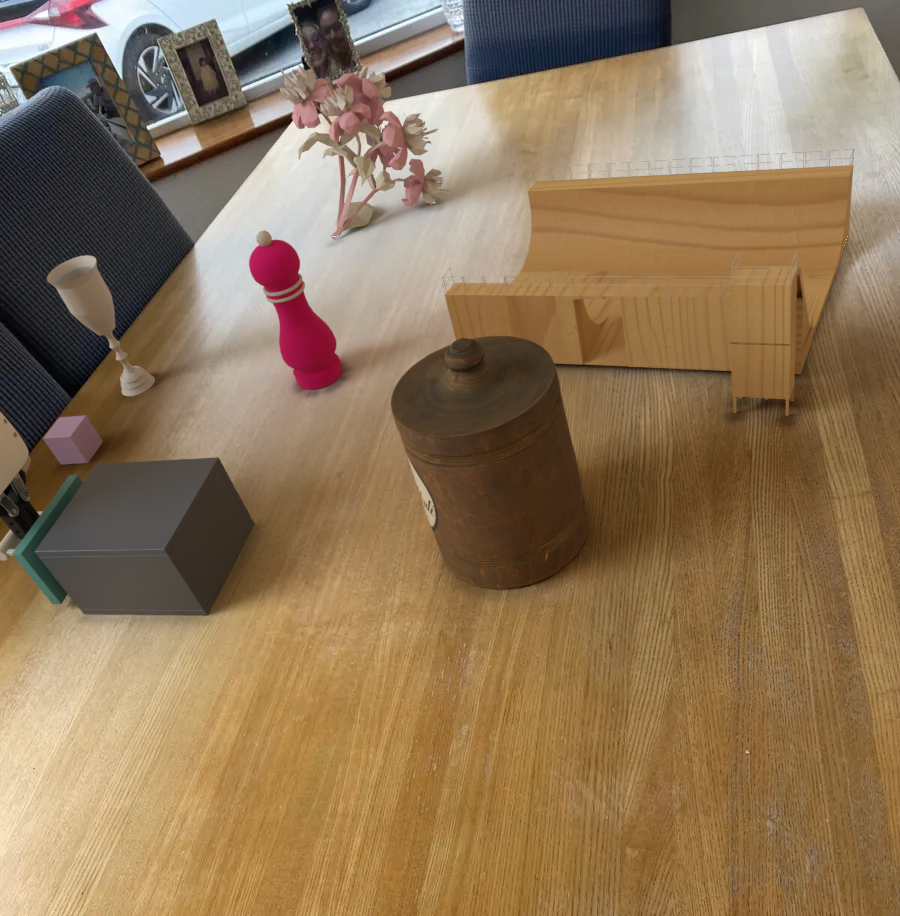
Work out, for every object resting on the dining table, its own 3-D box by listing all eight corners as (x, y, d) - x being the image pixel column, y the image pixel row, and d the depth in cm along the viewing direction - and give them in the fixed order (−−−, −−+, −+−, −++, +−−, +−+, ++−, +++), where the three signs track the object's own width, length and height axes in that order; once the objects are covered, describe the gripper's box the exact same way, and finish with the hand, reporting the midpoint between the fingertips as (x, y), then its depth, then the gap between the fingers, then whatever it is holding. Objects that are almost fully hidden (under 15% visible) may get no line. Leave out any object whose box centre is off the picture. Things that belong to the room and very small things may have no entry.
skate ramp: (849, 244, 115) (858, 105, 104) (789, 416, 95) (792, 267, 84) (546, 249, 133) (526, 131, 122) (440, 394, 113) (405, 269, 101)
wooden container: (471, 481, 100) (415, 297, 85) (606, 489, 94) (572, 292, 79) (419, 582, 92) (346, 397, 76) (564, 599, 86) (517, 401, 70)
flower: (389, 257, 138) (398, 62, 126) (272, 237, 148) (270, 54, 136) (460, 248, 153) (474, 73, 142) (350, 230, 163) (354, 66, 152)
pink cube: (60, 464, 124) (42, 438, 121) (76, 443, 127) (59, 417, 124) (87, 463, 123) (70, 436, 120) (103, 441, 125) (86, 415, 122)
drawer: (7, 604, 105) (-36, 554, 99) (61, 526, 112) (24, 477, 107) (164, 605, 98) (128, 552, 92) (210, 522, 106) (179, 469, 100)
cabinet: (83, 614, 101) (34, 551, 95) (138, 526, 110) (96, 463, 103) (207, 615, 96) (164, 549, 90) (254, 523, 105) (218, 456, 98)
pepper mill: (286, 377, 125) (224, 235, 111) (334, 353, 126) (278, 209, 112) (305, 399, 120) (242, 254, 106) (354, 374, 121) (299, 227, 107)
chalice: (166, 384, 132) (102, 266, 119) (122, 407, 131) (52, 290, 118) (152, 364, 137) (89, 249, 124) (110, 386, 136) (41, 272, 123)
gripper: (-57, 357, 97) (41, 490, 110) (-147, 450, 88) (-29, 584, 101) (0, 351, 95) (93, 488, 108) (-87, 445, 85) (27, 583, 98)
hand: (34, 534), depth 104 cm, fingers closed
